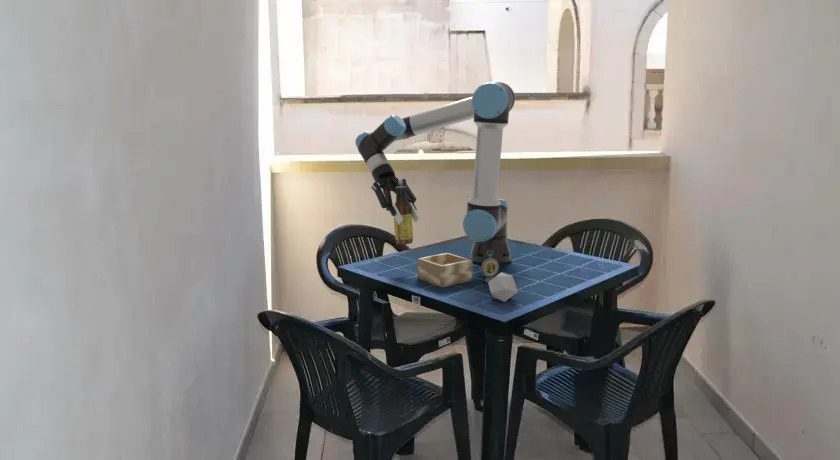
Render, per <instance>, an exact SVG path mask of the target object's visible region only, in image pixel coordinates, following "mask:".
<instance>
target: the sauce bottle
mask: <svg viewBox="0 0 840 460" xmlns="http://www.w3.org/2000/svg"><path fill="white" fill-rule="evenodd" d="M395 191H396V194H395V195H396V196H395V197H396V198H395V203H394V205H396V207H397V209H398V211H399V212H400V214H401V216H402V218H403V221H402V223H401V224H400V225H398V223H397V221H396V219H395V217H394V216H393V226H394V227H393V228H394V240H395V243H396V245H397V244H398V245H410V244H412V243H413V241H414V240H413V238H414V233H413V218H412V212H411V208H410V205H409V202H408V199H407V187H406V186H397V187H395Z"/></svg>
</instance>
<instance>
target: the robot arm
mask: <svg viewBox="0 0 840 460" xmlns="http://www.w3.org/2000/svg"><path fill="white" fill-rule="evenodd" d="M515 103H516V95H515V92H514V90H513V88H512V87H511V86H510V85H509V84H507V83H505V82H501V81H500V82H499V81H487V82H484V83H482V84H481V85H479V86H477V88H476V89H475V91H473V95H472V96H470V97H465V98H463V99H461V100H458V101H454V102H450V103H447V104H444V105H440V106H437V107H435V108H431V109H428V110H425V111H422V112H418V113H415V114H412V115H409V116H406V117H403V118H401V117H400V116H398V115H396V114H391V115H389V116H388V118H386V119H384V121H383V122H382V123H380V125H378V126H377V128H375V129H374V131H372V132H371V131H364V132H362V133H360V134H359V135H357V137H356V138H355V142H354V143H355V146H356V148H357V151H358V153H359V155H360V156H361V158H362V159H363V161H364V162H365V166H366V167H367V169H368V171H369V173H370V174H371V176H372V178H373V180H374V182H373V183H372V185H371V189H372V191H374V193H375V195H376V197H377V200H378V202H379V205H380V206H381V208H382V209H385V210H386V211H387V212H389V213H390V215H391V216H392V217H393V218H394V217H395V219H396V221H397V223H398V225H400V224H401V223H402V221H403V218H402V216H401V214H400V212H399V211H398V209H397V207H396V205H395V204H393V198H392V194H391V192H393V193H394V194H395V195H396V191H395V187H397V186H406V187H407V199H408V202H409V205H410V208H411V212H412V221H414V223H417V222H418V221H419V220H420V215H419V213H418V209H417V207H416V205H415V203H416V201H417V197H416V195H415V194H414V192H413V191H412V190H411V188H410V187H409V186H408V184H407V179H405V178H402V180H401V179H399V178H398V177H396V175H395V171H394V169H393V167H392V166H391V164H390V162H389V160H388V158H387V157H386V155H385V152H384V151H385V150H386V149H387V148H388V147H389V146H390V145H392V144H393V143H394V142H397V141H401V140H407V139H409V138H413V137H415V136H418V135H422V134H425V133H429V132H432V131H435V130H438V129H443V128H445V127H448V126H449V127H450V126H453V125H455V124H459V123H463V122H465V121H469V120H473V123H474V124H475V126H477V132H476V133H477V134H476V147H475V156H474V157H475V158H474V170H473V171H474V173H473V185H472V195H471V197H469V199H468V200H467V205H466V207H467V208H466V214H465V215H464V218H463V220H462V228H463V231H464V233H465V235H466V236H467V237H468V238H469V239H471V240H472V241H473V244H472V248H471V250H470V253H469V254H470V255H469V256H470V257H469V259H470V260H472V262H474V263H477V264H482V263H483V261H484V260H485V259H487V258H490V256H488V255H489V254H490V253H491V254H493V255H492V256H491V258H494V259H496V260H497V261H498V263H499V265H501V264H506V263H509V262H510V261H511V260H512V253H511V250H510V247H509V246H510V245H509V243H508V240H507V239H508V235H507V234H508V233H507V232H508V210H509V208H508V201H507V200H506V199H504V198H498V194H499V193H498V190H499V180H500V179H499V178H500V169H501V156H502V144H503V136H504V135H503V132H504V128H505V127H507V126H508V125H509V116H510V112H511V111H512V109H513V108H514V106H515ZM488 251H489V252H488ZM492 251H493V252H492ZM487 252H488V253H487ZM487 254H488V255H487Z"/></svg>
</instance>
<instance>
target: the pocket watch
mask: <svg viewBox="0 0 840 460" xmlns="http://www.w3.org/2000/svg"><path fill="white" fill-rule="evenodd" d="M488 252H489V251H488ZM488 252H487V253H488ZM492 252H493V251H492ZM487 255H488V254H487ZM492 255H493V254H491V253H490V254H489V255H488V256H490V258H487V259H485V260H484V261H483V263H481V266H480V272H481V274H482V275H483V277H486V278H485V279H484V282H485V283H487V284H488V282H489V281H491V280H492V279H493V278H494V277H496V276H497V275H498V272H499V269H500V264H499V263H498V261H497V260H496V259H494V258H491V256H492Z"/></svg>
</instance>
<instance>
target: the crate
mask: <svg viewBox="0 0 840 460" xmlns="http://www.w3.org/2000/svg"><path fill="white" fill-rule="evenodd" d="M417 280H421V281H423V282H425V283H428V284H431V285H435V286H437V287H439V288H445V287H450V286H455V285H458V284H459V285H460V284H463V283H468V282H472V281H473V261H472V260H471V259H470V258H466V257H463V256H460V255H456V254H452V253H450V252H445V253H440V254H433V255H428V256H424V257H419V258H417Z"/></svg>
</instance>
